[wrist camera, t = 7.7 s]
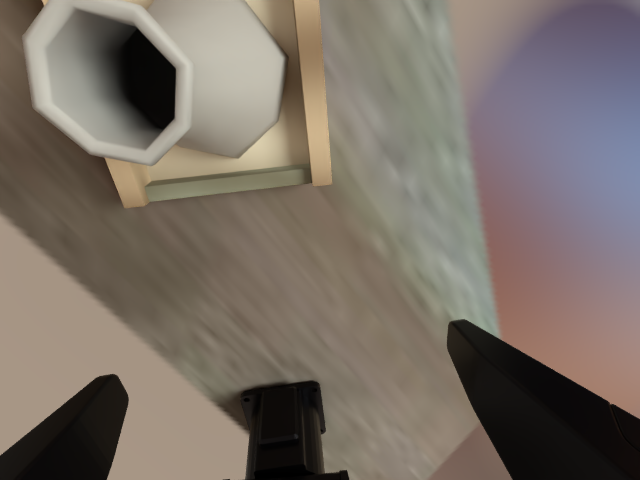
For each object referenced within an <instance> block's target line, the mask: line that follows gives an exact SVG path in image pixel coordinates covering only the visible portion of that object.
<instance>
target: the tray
mask: <svg viewBox="0 0 640 480" xmlns="http://www.w3.org/2000/svg"><path fill="white" fill-rule="evenodd" d="M123 1H126V2H130V3H134V4H137V5H141V6H142V7H143V8H144V9H145V10H147V9H148V8H149V6H150V5H151V4H152V3H153V1H154V0H123ZM245 1H246V2H247V4H248V5H249V6H250V7H251V9H252V10H253V11H254V13H255V14H256V15H257V17H258V18H259V19H260V20H261V22H262V23H263V24H264V26H265V27H266V28H267V29H268V31H269V32H270V33H271V35H272V36H273V37H274V39H275V40H276V41H277V42H278V44H279V45H280V46H281V48H282V49H283V50H284V51H285V53H286V54H287V55H288V57H289V60H288V66H287V72H286V78H285V85H284V91H283V97H282V103H281V109H280V115H279V121H278V122H277V123H276V124H275V125H274V126H273V127H272V128H271V129H269V130H268V131H267V132H266V133H265V134H264V135H263V136H262V137H261V138H260V139H259V140H258V141H257V142H256V143H255V144H254V145H253V146H252V147H250V148H249V149H248V150H247V151H246V152H245V153H244V154H243V155H242V156H241V157H240V158H239V159H238V158H233V157H228V156H223V155H218V154H213V153H208V152H203V151H198V150H193V149H188V148H183V147H180V146H178V145H177V144H175V145H174V146H173V147H172V148H171V149H170V150H169V151H168V152H167V153H166V154H165V155H164V156H163V157H162V158H161V159H160V160H159V161H158V162H157V163H156V164H155V165H153V166H147V165H142V164H137V163H131V162H126V161H121V160H115V159H110V158H105V160H106V163H107V165H108V168H109V170H110V173H111V175H112V178H113V180H114V183H115V185H116V188H117V190H118V193H119V195H120V198H121V200H122V203H123V205H124V208H131V207H140V206H145V205H146V204H148V203H149V202H151V201H160V200H169V199H177V198H186V197H195V196H203V195H212V194H221V193H229V192H238V191H247V190H255V189H264V188H273V187H282V186H290V185H299V184H308V183H312V185H313V186H321V185H330V184H332V174H331V161H330V147H329V133H328V119H327V106H326V92H325V78H324V65H323V51H322V37H321V23H320V10H319V0H245ZM42 2H43V4H44V6H45V5H46V3H47V2H48V0H42Z"/></svg>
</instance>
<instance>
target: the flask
mask: <svg viewBox="0 0 640 480" xmlns="http://www.w3.org/2000/svg"><path fill="white" fill-rule="evenodd" d="M22 41H23V48H24V55H25V61H26V68H27V75H28V81H29V88H30V95H31V101H32V108H33V109H34V110H36V111H37V112H38V113H39V114H41V115H42V116H43V117H44V118H46V119H47V120H48V121H49V122H50V123H52V124H53V125H54V126H55V127H57V128H58V129H59V130H60V131H61V132H63V133H64V134H65V135H66V136H68V137H69V138H70V139H71V140H73V141H74V142H75V143H76V144H77V145H79V146H80V147H81V148H82V149H84V150H85V151H86V152H87V153H89V154H90V155H94V156H99V157H104V158H110V159H115V160H121V161H126V162H131V163H137V164H142V165H147V166H153V165H155V164H156V163H157V162H158V161H159V160H160V159H161V158H162V157H163V156H164V155H165V154H166V153H167V152H168V151H169V150H170V149H171V148H172V147H173V146H174V145H175V144H177V145H178V146H180V147H183V148H188V149H193V150H198V151H203V152H208V153H213V154H218V155H223V156H228V157H233V158H238V159H239V158H240V157H241V156H242V155H243V154H244V153H245V152H246V151H247V150H248V149H249V148H250V147H252V146H253V145H254V144H255V143H256V142H257V141H258V140H259V139H260V138H261V137H262V136H263V135H264V134H265V133H266V132H267V131H268V130H269V129H271V128H272V127H273V126H274V125H275V124H276V123H277V122H278V121H279V115H280V109H281V103H282V97H283V91H284V85H285V78H286V72H287V66H288V60H289V57H288V55H287V54H286V53H285V51H284V50H283V49H282V48H281V46H280V45H279V44H278V42H277V41H276V40H275V39H274V37H273V36H272V35H271V33H270V32H269V31H268V29H267V28H266V27H265V26H264V24H263V23H262V22H261V20H260V19H259V18H258V17H257V15H256V14H255V13H254V11H253V10H252V9H251V7H250V6H249V5H248V4H247V2H246V1H245V0H154V1H153V3H152V4H151V5H150V6H149V8H148V9H147V10H145V9H144V8H143V7H142V6H141V5H137V4H134V3H130V2H126V1H123V0H48V2H47V3H46V5H45V6H44V7H43V9H42V10H41V11H40V13H39V14H38V16H37V17H36V18H35V20H34V21H33V22H32V24H31V25H30V26H29V28H28V29H27V31H26V32H25V33H24V35H23V36H22Z"/></svg>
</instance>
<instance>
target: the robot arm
mask: <svg viewBox="0 0 640 480" xmlns="http://www.w3.org/2000/svg"><path fill="white" fill-rule="evenodd" d="M447 349H448V352H449V354H450V357H451V359H452V361H453V364H454V366H455V368H456V371H457V373H458V375H459V378H460V380H461V382H462V385H463V387H464V389H465V392H466V394H467V396H468V399H469V401H470V403H471V405H472V407H473V409H474V411H475V413H476V415H477V417H478V418H479V420H480V422H481V424H482V426H483V427H484V429H485V431H486V433H487V435H488V436H489V438H490V440H491V442H492V443H493V445H494V447H495V449H496V451H497V453H498V454H499V456H500V458H501V460H502V461H503V463H504V465H505V467H506V469H507V471H508V472H509V474H510V476H511V478H512V479H513V480H640V419H639V418H637V417H635V416H633V415H631V414H630V413H628V412H626V411H625V410H623V409H621V408H619V407H617V406H616V405H614V404H611V405H610V403H609V402H608V401H607V400H605V399H603V398H602V397H600V396H598V395H596V394H595V393H593V392H591V391H589V390H588V389H586V388H584V387H582V386H581V385H579V384H577V383H575V382H574V381H572V380H570V379H568V378H567V377H565V376H563V375H561V374H559V373H558V372H556V371H554V370H553V369H551V368H549V367H547V366H546V365H544V364H542V363H541V362H539V361H537V360H535V359H533V358H532V357H530V356H528V355H526V354H525V353H523V352H521V351H520V350H518V349H516V348H514V347H512V346H511V345H509V344H507V343H506V342H504V341H502V340H500V339H499V338H497V337H495V336H493V335H492V334H490V333H488V332H486V331H485V330H483V329H481V328H479V327H478V326H476V325H474V324H472V323H471V322H469V321H467V320H465V319H461V320H454V321H451V322H449V325H448V335H447ZM128 401H129V399H128V394H127V392H126V390H125V388H124V386H123V385H122V383H121V381H120V379H119V377H118V376H117V375H115V374H110V375H104V376H99V377H97V378H95V379H94V380H93V381H92V382H90V383H89V384H88V385H87V386H86V387H84V388H83V389H82V390H81V391H79V392H78V393H77V394H76V395H75V396H73V397H72V398H71V399H69V400H68V401H67V402H66V403H65V404H63V405H62V406H61V407H60V408H58V409H57V410H56V411H55V412H53V413H52V414H51V415H50V416H49V417H47V418H46V419H45V420H44V421H42V422H41V423H40V424H39V425H38V426H36V427H35V428H34V429H32V430H31V431H30V432H29V433H28V434H26V435H25V436H24V437H23V438H21V439H20V440H19V441H18V442H16V443H15V444H14V445H13V446H12V447H10V448H9V449H8V450H7V451H5V452H4V453H3V454H2V455H0V480H107V477H108V474H109V471H110V468H111V466H112V462H113V459H114V455H115V452H116V448H117V444H118V440H119V437H120V433H121V429H122V425H123V421H124V418H125V414H126V410H127V407H128ZM241 404H242V407H243V410H244V413H245V417H246V420H247V423H248V426H249V430H250V436H249V446H248V457H247V467H246V477H245V480H349V477H348V472H347V470H342V471H339V472H336V473H325V471H324V461H323V451H322V441H321V434H323V433H325V431H326V428H325V420H324V413H323V405H322V397H321V390H320V384H319V383H318V382H309V383H302V384H295V385H288V386H281V387H274V388H267V389H260V390H253V391H246V392H243V393H242V394H241ZM226 480H230V479H226Z"/></svg>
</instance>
